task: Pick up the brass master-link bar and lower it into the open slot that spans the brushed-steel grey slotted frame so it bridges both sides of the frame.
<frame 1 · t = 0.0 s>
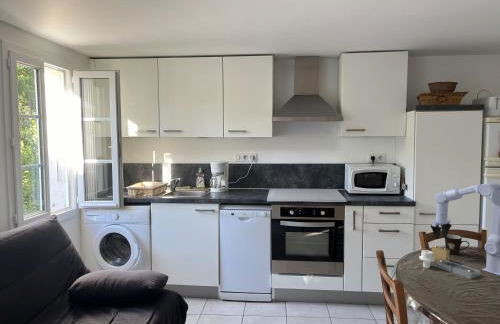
hand: (440, 237, 197), 10 cm above the table, fingers open, 7 cm apart
master link: (440, 260, 190), on the table
coffee mug: (454, 254, 199), on the table
pipe fitting: (426, 267, 180), on the table
grey slotted frame: (456, 270, 174), on the table
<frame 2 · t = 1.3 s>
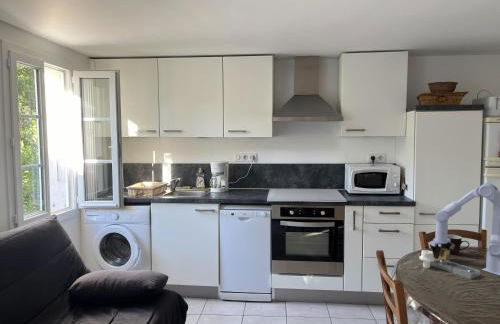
hand: (440, 257, 190), 2 cm above the table, fingers open, 7 cm apart
nothing on the table moved.
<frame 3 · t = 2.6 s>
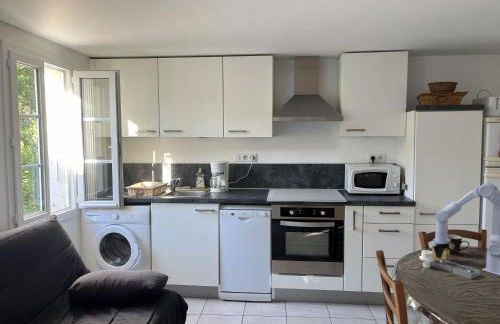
hand: (440, 257, 190), 2 cm above the table, fingers closed on master link, 3 cm apart
master link: (440, 260, 190), on the table, touching gripper
everything else where it was.
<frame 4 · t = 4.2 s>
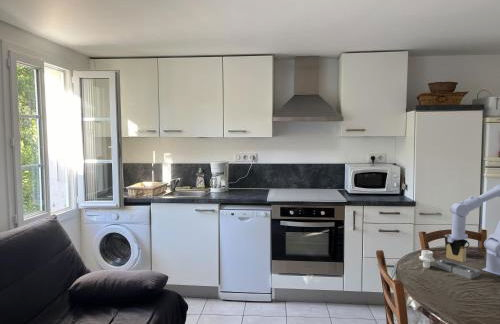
hand: (457, 254, 174), 9 cm above the table, fingers closed on master link, 3 cm apart
master link: (455, 259, 174), point 6 cm above the table, touching gripper
everything else where it was.
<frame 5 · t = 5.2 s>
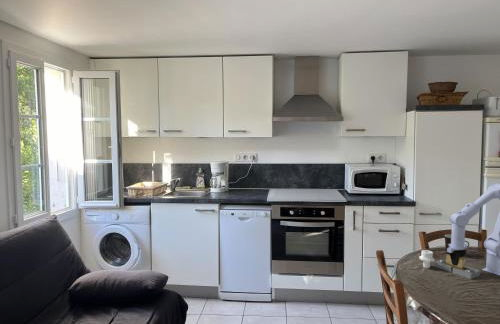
hand: (456, 264, 174), 3 cm above the table, fingers closed on master link, 3 cm apart
master link: (455, 269, 175), resting in grey slotted frame, touching gripper
everything else where it was.
when the fingers open (3 cm above the table, at t = 5.8 s): master link stays where it is, resting in grey slotted frame.
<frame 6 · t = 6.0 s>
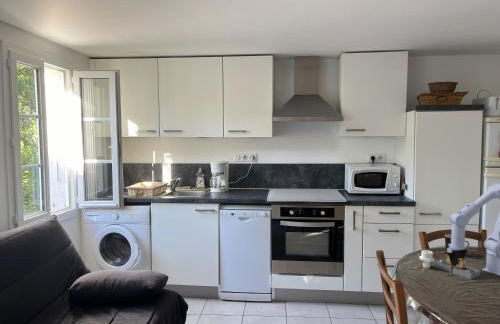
hand: (456, 264, 174), 3 cm above the table, fingers open, 5 cm apart
master link: (455, 270, 175), resting in grey slotted frame
everything else where it was.
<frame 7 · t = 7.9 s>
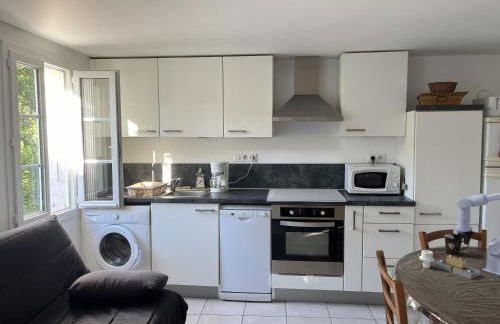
hand: (462, 245, 183), 10 cm above the table, fingers open, 7 cm apart
nothing on the table moved.
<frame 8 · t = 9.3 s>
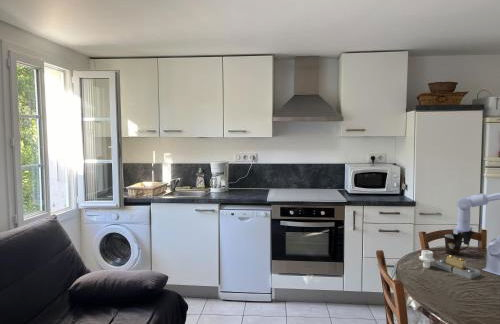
hand: (462, 245, 183), 10 cm above the table, fingers open, 7 cm apart
nothing on the table moved.
at the end: master link 0.3 cm off-centre on the grey slotted frame, point 0.0 cm above the grey slotted frame's base; master link tilted 0°; the gripper is holding nothing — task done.
